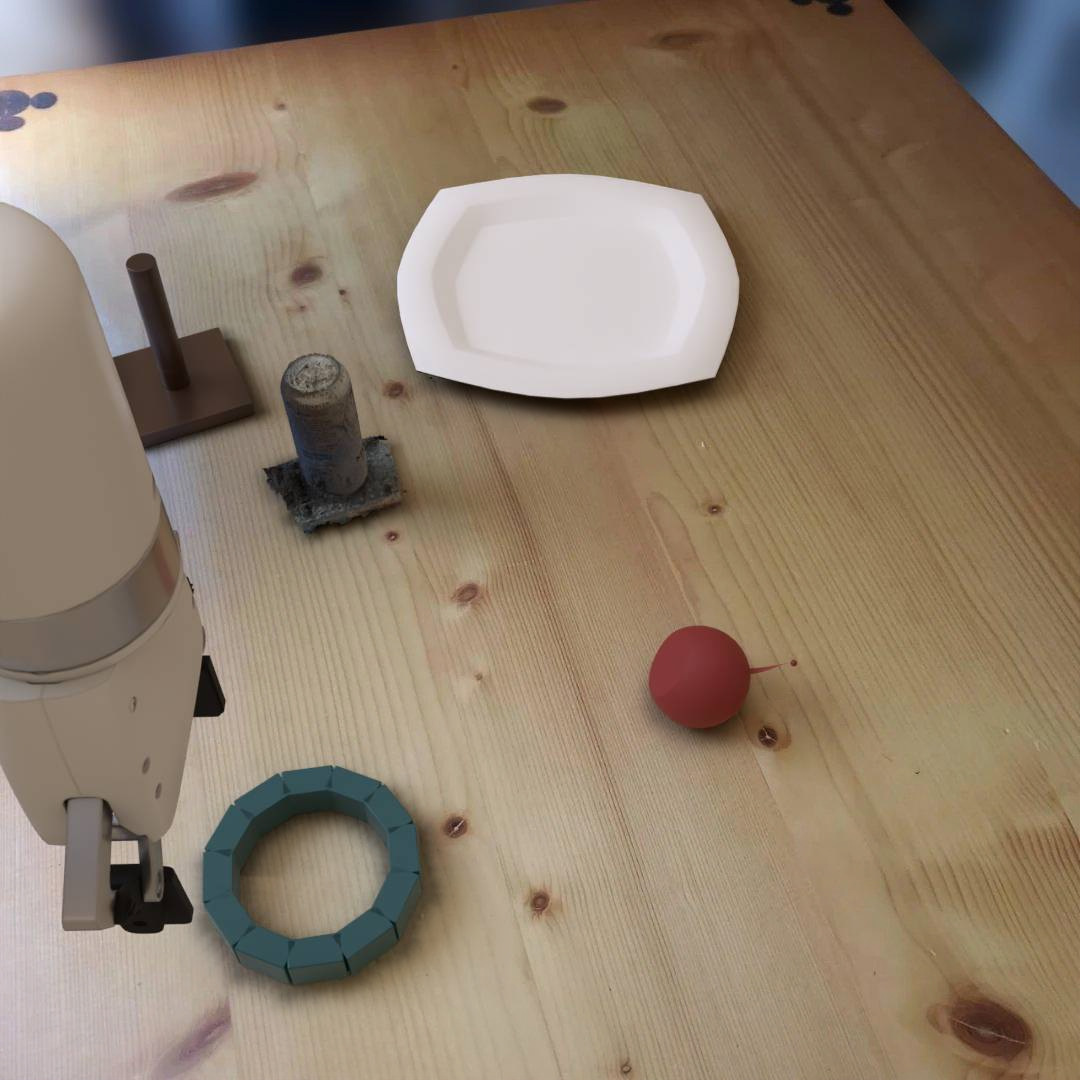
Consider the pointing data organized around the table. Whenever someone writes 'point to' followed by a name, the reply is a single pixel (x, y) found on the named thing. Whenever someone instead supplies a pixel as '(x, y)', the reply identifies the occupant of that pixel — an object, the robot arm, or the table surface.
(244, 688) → the table surface
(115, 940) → the table surface
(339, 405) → the can on ragged base
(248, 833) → the ring
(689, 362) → the plate
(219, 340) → the post
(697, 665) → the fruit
